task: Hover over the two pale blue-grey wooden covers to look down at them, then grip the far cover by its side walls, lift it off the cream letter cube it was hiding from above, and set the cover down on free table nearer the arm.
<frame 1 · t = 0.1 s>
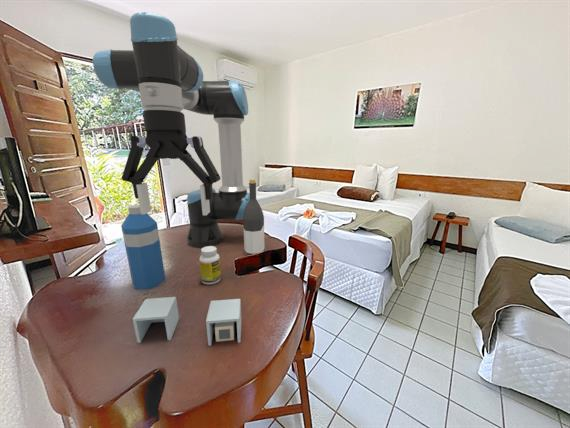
hand: (176, 213, 54), 28 cm above the table, fingers open, 13 cm apart
pill bottle: (211, 280, 79), on the table
letter cube: (225, 334, 57), on the table
water bottle: (149, 282, 78), on the table
cover near: (159, 330, 58), on the table
wine bottle: (254, 253, 98), on the table
cover far: (226, 332, 58), on the table
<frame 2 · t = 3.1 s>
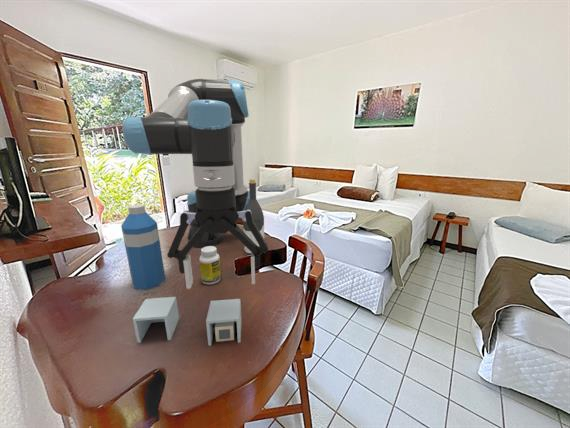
hand: (222, 283, 53), 13 cm above the table, fingers open, 13 cm apart
nothing on the table moved.
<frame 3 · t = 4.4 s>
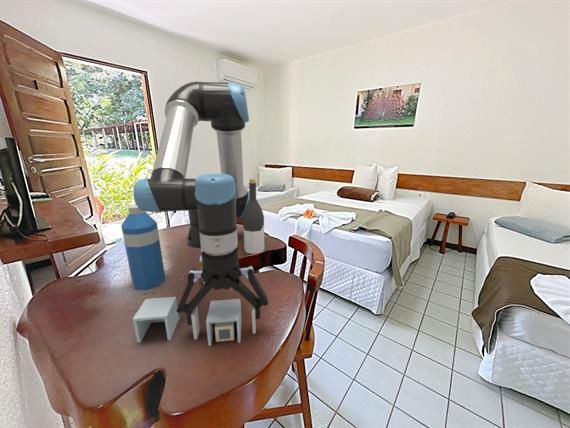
hand: (225, 332, 57), 0 cm above the table, fingers open, 12 cm apart
nothing on the table moved.
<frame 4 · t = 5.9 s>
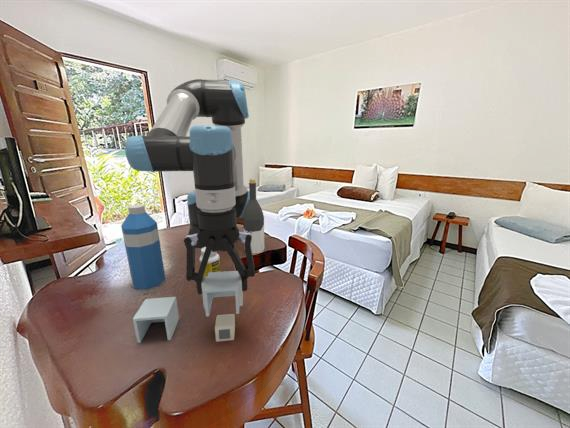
hand: (224, 303, 56), 8 cm above the table, fingers closed on cover far, 7 cm apart
cover far: (224, 304, 56), point 7 cm above the table, touching gripper
everything else where it was.
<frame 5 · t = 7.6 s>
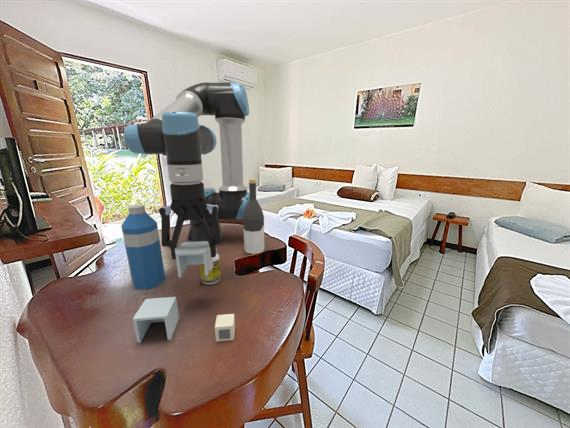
hand: (196, 268, 64), 11 cm above the table, fingers closed on cover far, 7 cm apart
cover far: (196, 269, 64), point 11 cm above the table, touching gripper
everything else where it was.
when the fingers open (0 cm above the table, at t = 9.5 s): cover far stays where it is, on the table.
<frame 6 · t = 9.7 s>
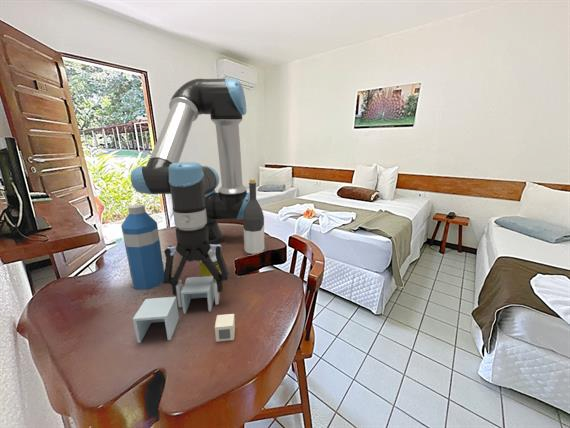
hand: (199, 302, 67), 0 cm above the table, fingers open, 9 cm apart
cover far: (199, 304, 67), on the table
everything else where it was.
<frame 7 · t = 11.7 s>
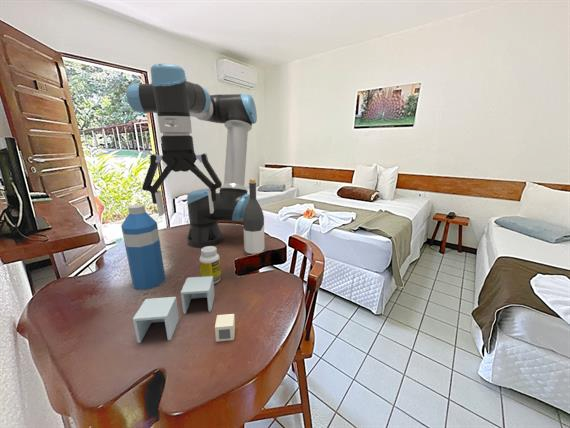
hand: (187, 213, 69), 24 cm above the table, fingers open, 13 cm apart
nothing on the table moved.
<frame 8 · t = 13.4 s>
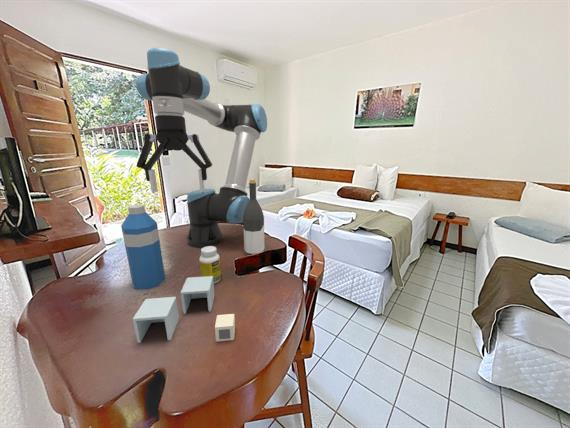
hand: (178, 191, 73), 29 cm above the table, fingers open, 13 cm apart
nothing on the table moved.
at the end: cover far inside the target area (0.1 cm from its centre), on the table; cover far tilted 0°; letter cube moved 0.1 cm from its start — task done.
